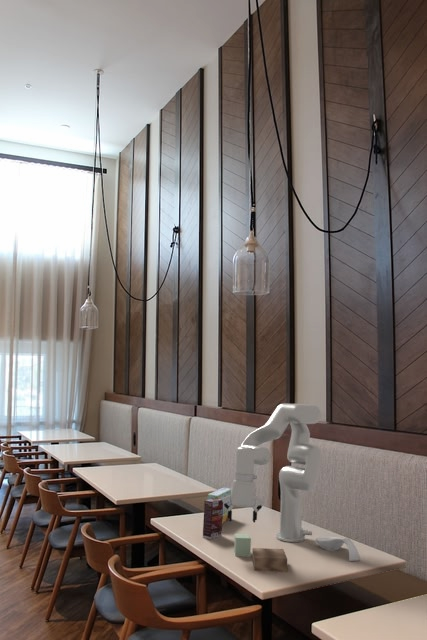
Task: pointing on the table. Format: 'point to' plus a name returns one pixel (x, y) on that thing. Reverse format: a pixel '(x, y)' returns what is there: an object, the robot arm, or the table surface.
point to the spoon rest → (338, 546)
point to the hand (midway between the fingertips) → (242, 521)
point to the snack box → (221, 494)
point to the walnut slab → (269, 560)
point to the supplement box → (212, 518)
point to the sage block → (242, 545)
